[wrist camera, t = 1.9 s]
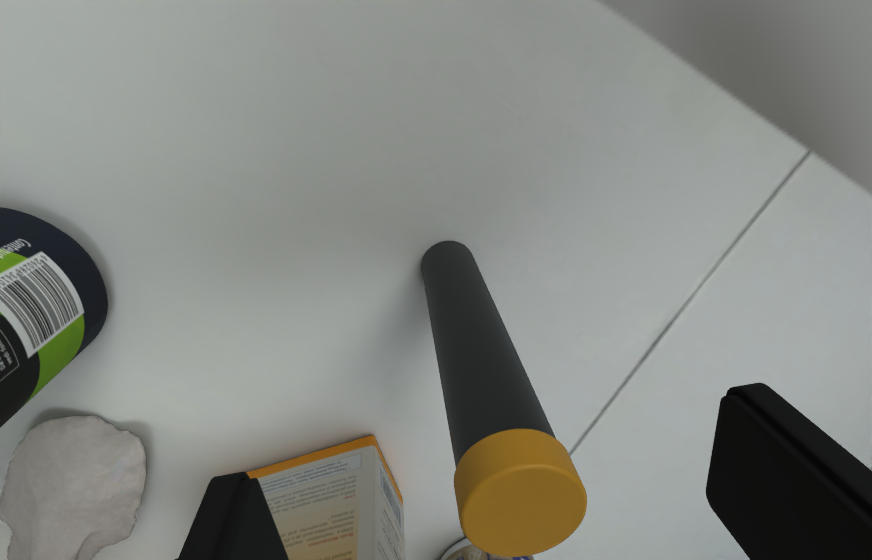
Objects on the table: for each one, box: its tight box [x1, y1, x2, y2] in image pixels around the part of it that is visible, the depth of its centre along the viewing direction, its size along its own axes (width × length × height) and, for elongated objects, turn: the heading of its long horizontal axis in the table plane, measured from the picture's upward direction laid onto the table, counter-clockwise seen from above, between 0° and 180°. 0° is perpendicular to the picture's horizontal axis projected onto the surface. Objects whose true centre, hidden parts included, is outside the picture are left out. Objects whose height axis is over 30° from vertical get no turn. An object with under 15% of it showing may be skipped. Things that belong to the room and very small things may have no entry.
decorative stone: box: [0, 415, 147, 560], centre depth 21 cm, size 9×6×3 cm, turn 147°
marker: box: [421, 241, 587, 557], centre depth 14 cm, size 2×2×12 cm
